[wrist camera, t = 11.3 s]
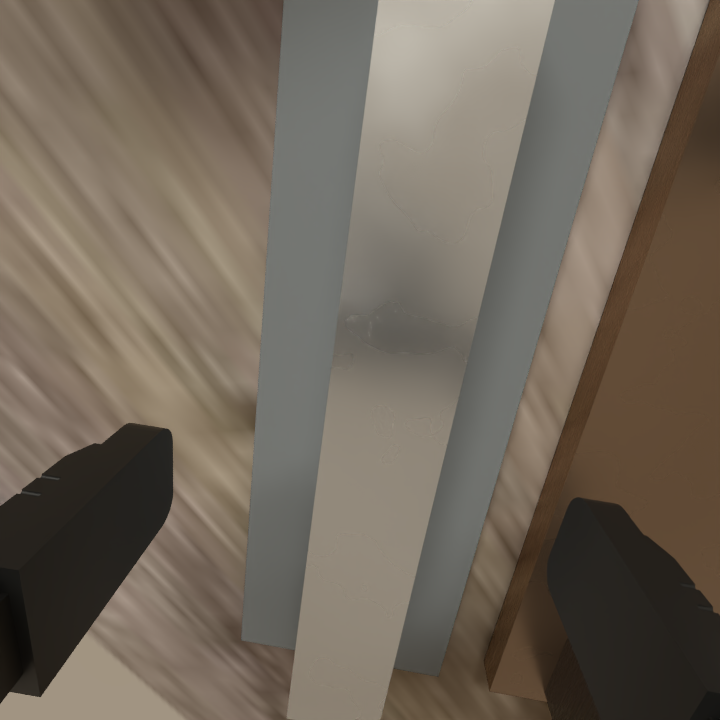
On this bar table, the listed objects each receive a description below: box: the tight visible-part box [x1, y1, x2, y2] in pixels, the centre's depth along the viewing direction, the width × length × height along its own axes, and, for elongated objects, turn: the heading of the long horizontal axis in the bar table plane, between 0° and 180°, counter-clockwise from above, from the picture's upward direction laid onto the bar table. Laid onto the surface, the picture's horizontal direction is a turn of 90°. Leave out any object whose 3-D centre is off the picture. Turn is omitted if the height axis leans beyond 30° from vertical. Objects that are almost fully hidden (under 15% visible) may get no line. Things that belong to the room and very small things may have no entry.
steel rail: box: [287, 0, 555, 720], centre depth 12 cm, size 3×21×3 cm, turn 172°
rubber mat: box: [241, 0, 639, 677], centre depth 14 cm, size 8×23×1 cm, turn 172°
